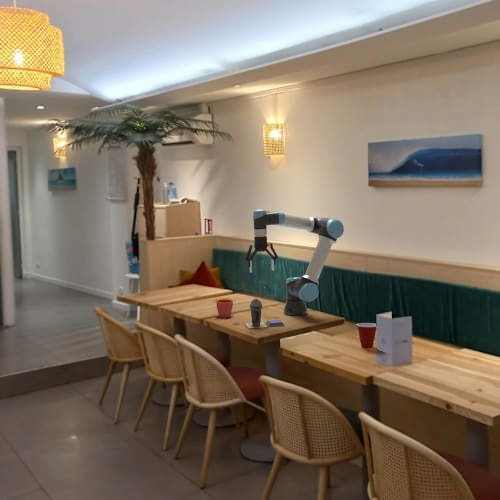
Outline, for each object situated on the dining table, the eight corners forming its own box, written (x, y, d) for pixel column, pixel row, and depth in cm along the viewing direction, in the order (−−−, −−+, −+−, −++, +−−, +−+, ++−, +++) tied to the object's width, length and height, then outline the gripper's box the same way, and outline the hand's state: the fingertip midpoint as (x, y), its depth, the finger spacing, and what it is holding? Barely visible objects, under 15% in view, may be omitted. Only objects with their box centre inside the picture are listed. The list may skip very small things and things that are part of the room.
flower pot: (236, 315, 400) (236, 300, 399) (226, 318, 391) (226, 303, 390) (222, 313, 406) (222, 298, 405) (213, 316, 397) (212, 301, 396)
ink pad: (280, 322, 379) (280, 319, 378) (284, 325, 370) (284, 322, 370) (265, 323, 377) (265, 320, 377) (269, 326, 368) (269, 323, 368)
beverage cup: (262, 323, 374) (261, 290, 372) (262, 326, 367) (262, 292, 364) (249, 324, 374) (249, 290, 371) (250, 326, 366) (249, 292, 364)
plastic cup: (376, 344, 327) (376, 321, 326) (378, 349, 317) (379, 326, 315) (355, 343, 328) (355, 321, 327) (356, 349, 318) (357, 326, 316)
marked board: (264, 323, 377) (264, 322, 377) (268, 327, 365) (268, 326, 365) (244, 324, 375) (244, 323, 375) (248, 329, 363) (248, 328, 363)
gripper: (278, 233, 380) (280, 268, 383) (238, 236, 374) (240, 272, 377) (282, 235, 373) (283, 270, 376) (241, 238, 367) (243, 274, 370)
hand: (262, 271), depth 376 cm, fingers open, 13 cm apart
